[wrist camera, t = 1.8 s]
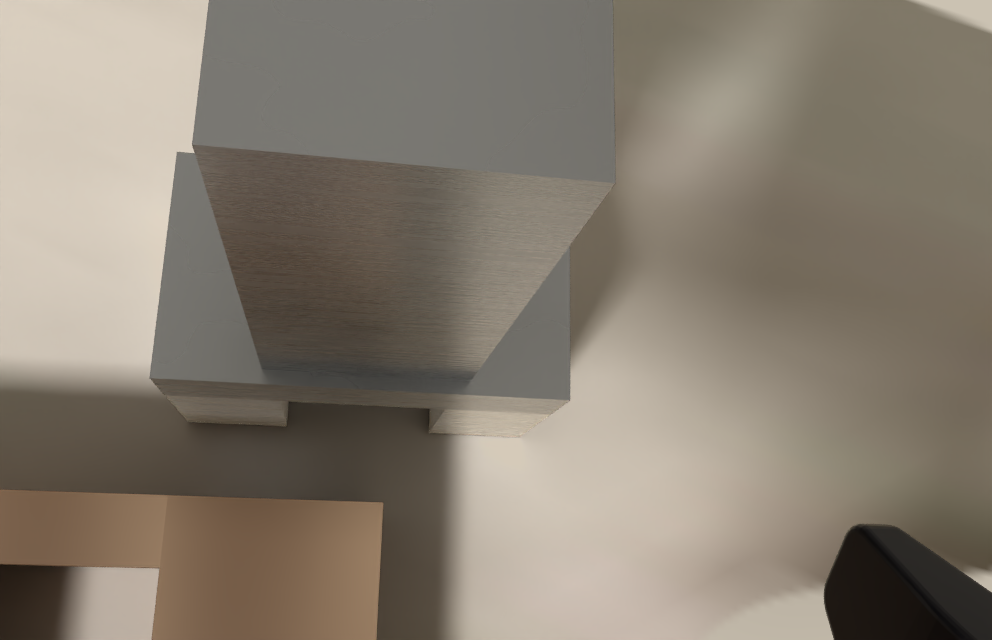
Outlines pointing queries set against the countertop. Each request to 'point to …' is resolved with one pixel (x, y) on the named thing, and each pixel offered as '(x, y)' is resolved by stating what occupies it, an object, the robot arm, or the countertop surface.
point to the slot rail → (216, 558)
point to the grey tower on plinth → (385, 209)
